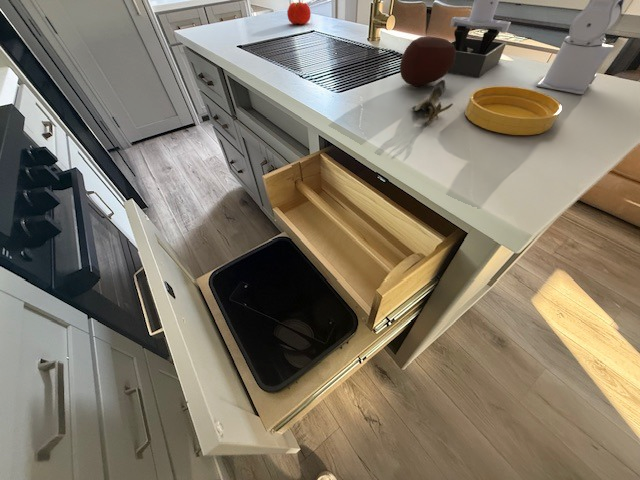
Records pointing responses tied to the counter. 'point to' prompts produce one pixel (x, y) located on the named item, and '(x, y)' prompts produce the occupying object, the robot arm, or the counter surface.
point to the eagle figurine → (433, 102)
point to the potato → (426, 60)
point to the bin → (476, 58)
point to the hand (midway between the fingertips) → (467, 60)
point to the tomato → (298, 13)
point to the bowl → (512, 110)
